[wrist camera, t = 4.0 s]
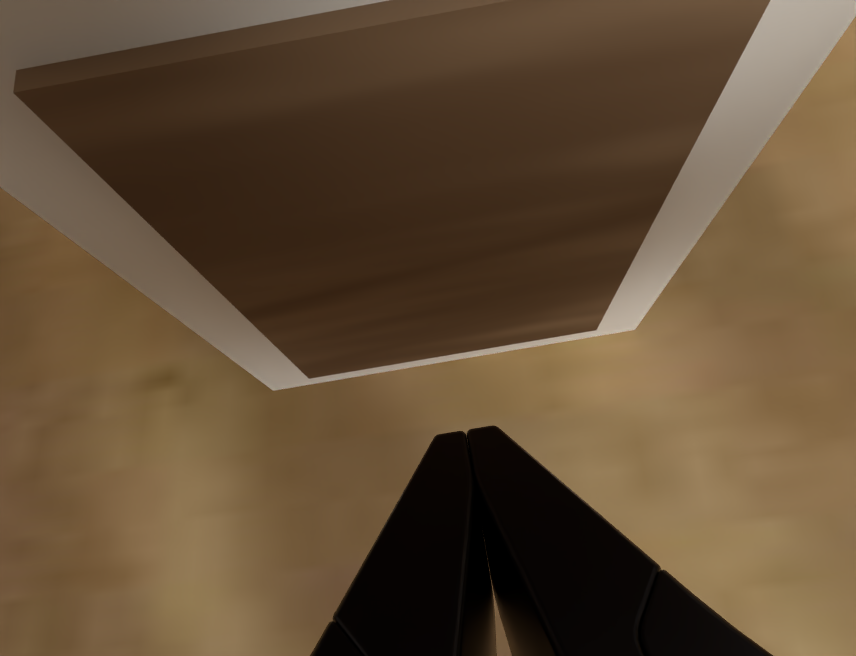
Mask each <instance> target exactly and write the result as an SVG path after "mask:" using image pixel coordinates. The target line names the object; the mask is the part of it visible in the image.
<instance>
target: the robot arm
mask: <svg viewBox="0 0 856 656" xmlns="http://www.w3.org/2000/svg"><path fill="white" fill-rule="evenodd" d="M467 441H468V442H467ZM468 447H469V448H468ZM484 540H485V541H484ZM485 546H486V547H485ZM486 552H487V553H486ZM487 558H488V559H487ZM488 563H489V565H488ZM489 569H490V571H489ZM490 575H491V577H490ZM491 580H492V584H491ZM492 585H493V590H494V595H495V599H496V603H497V606H498V610H499V614H500V617H501V620H502V624H503V627H504V630H505V634H506V637H507V640H508V643H509V647H510V650H511V653H512V656H773V655H771V654H770V653H769V652H767V651H766V650H765V649H763V648H762V647H761V646H759V645H758V644H756V643H755V642H754V641H752V640H751V639H750V638H748V637H747V636H746V635H744V634H743V633H741V632H740V631H739V630H737V629H736V628H735V627H733V626H732V625H731V624H730V623H728V622H727V621H726V620H725V619H723V618H722V617H721V616H720V615H719V614H717V613H716V612H715V611H714V610H712V609H711V608H710V607H709V606H707V605H706V604H705V603H704V602H702V601H701V600H700V599H699V598H698V597H696V596H695V595H694V594H693V593H691V592H690V591H689V590H688V589H687V588H685V587H684V586H683V585H682V584H681V583H680V582H678V581H677V580H676V579H675V578H674V577H673V576H672V575H670V574H669V573H668V572H667V571H665V570H661V568H660V566H659V565H658V564H657V563H656V562H655V561H654V560H652V559H651V558H650V557H649V556H648V555H647V554H645V553H644V552H643V551H642V550H641V549H640V548H638V547H637V546H636V545H635V544H634V543H633V542H631V541H630V540H629V539H628V538H627V537H626V536H624V535H623V534H622V533H621V532H620V531H619V530H617V529H616V528H615V527H614V526H613V525H612V524H610V523H609V522H608V521H607V520H606V519H605V518H603V517H602V516H601V515H600V514H599V513H598V512H596V511H595V510H594V509H593V508H592V507H591V506H589V505H588V504H587V503H586V502H585V501H584V500H582V499H581V498H580V497H579V496H578V495H577V494H575V493H574V492H573V491H572V490H571V489H570V488H568V487H567V486H566V485H565V484H564V483H563V482H561V481H560V480H559V479H558V478H557V477H556V476H554V475H553V474H552V473H551V472H550V471H549V470H547V469H546V468H545V467H544V466H543V465H542V464H540V463H539V462H538V461H537V460H536V459H535V458H533V457H532V456H531V455H530V454H529V453H528V452H526V451H525V450H524V449H523V448H522V447H521V446H519V445H518V444H517V443H516V442H515V441H514V440H512V439H511V438H510V437H509V436H508V435H506V434H505V433H504V432H503V431H502V430H501V429H499V428H498V427H497V426H487V427H481V428H475V429H470V430H469V431H468V432H467V437H466V434H465V433H464V432H463V431H457V432H451V433H444V434H439V435H437V436H435V437H434V439H433V441H432V442H431V444H430V446H429V448H428V449H427V451H426V453H425V455H424V456H423V458H422V460H421V462H420V464H419V465H418V467H417V469H416V471H415V472H414V474H413V476H412V478H411V479H410V481H409V483H408V485H407V487H406V488H405V490H404V492H403V494H402V495H401V497H400V499H399V501H398V502H397V504H396V506H395V508H394V509H393V511H392V513H391V515H390V517H389V518H388V520H387V522H386V524H385V525H384V527H383V529H382V531H381V532H380V534H379V536H378V538H377V540H376V541H375V543H374V545H373V547H372V548H371V550H370V552H369V554H368V555H367V557H366V559H365V561H364V562H363V564H362V566H361V568H360V570H359V571H358V573H357V575H356V577H355V578H354V580H353V582H352V584H351V585H350V587H349V589H348V591H347V593H346V594H345V596H344V598H343V600H342V601H341V603H340V605H339V607H338V608H337V610H336V612H335V614H334V615H333V621H332V622H330V623H329V624H328V625H327V627H326V629H325V631H324V632H323V634H322V636H321V638H320V640H319V641H318V643H317V645H316V647H315V648H314V650H313V652H312V654H311V655H310V656H497V653H496V631H495V612H494V599H493V591H492Z"/></svg>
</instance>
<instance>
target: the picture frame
mask: <svg viewBox="0 0 856 656" xmlns="http://www.w3.org/2000/svg"><path fill="white" fill-rule="evenodd" d="M855 16H856V0H0V187H1V188H2V189H3V190H5V191H6V192H7V193H9V194H10V195H11V196H13V197H14V198H15V199H17V200H18V201H19V202H21V203H22V204H23V205H25V206H26V207H27V208H29V209H30V210H31V211H33V212H34V213H35V214H37V215H38V216H39V217H41V218H42V219H43V220H45V221H46V222H48V223H49V224H50V225H52V226H53V227H54V228H56V229H57V230H58V231H60V232H61V233H62V234H64V235H65V236H66V237H68V238H69V239H70V240H72V241H73V242H74V243H76V244H77V245H78V246H80V247H81V248H82V249H84V250H85V251H86V252H88V253H89V254H90V255H92V256H93V257H94V258H96V259H97V260H98V261H100V262H101V263H103V264H104V265H105V266H107V267H108V268H109V269H111V270H112V271H113V272H115V273H116V274H117V275H119V276H120V277H121V278H123V279H124V280H125V281H127V282H128V283H129V284H131V285H132V286H133V287H135V288H136V289H137V290H139V291H140V292H141V293H143V294H144V295H145V296H147V297H148V298H149V299H151V300H152V301H154V302H155V303H156V304H158V305H159V306H160V307H162V308H163V309H164V310H166V311H167V312H168V313H170V314H171V315H172V316H174V317H175V318H176V319H178V320H179V321H180V322H182V323H183V324H184V325H186V326H187V327H188V328H190V329H191V330H192V331H194V332H195V333H196V334H198V335H199V336H200V337H202V338H203V339H205V340H206V341H207V342H209V343H210V344H211V345H213V346H214V347H215V348H217V349H218V350H219V351H221V352H222V353H223V354H225V355H226V356H227V357H229V358H230V359H231V360H233V361H234V362H235V363H237V364H238V365H239V366H241V367H242V368H243V369H245V370H246V371H247V372H249V373H250V374H251V375H253V376H254V377H255V378H257V379H258V380H260V381H261V382H262V383H264V384H265V385H266V386H268V387H269V388H270V389H272V390H273V391H275V390H280V389H286V388H292V387H298V386H304V385H310V384H316V383H322V382H328V381H334V380H340V379H346V378H352V377H358V376H363V375H369V374H375V373H381V372H387V371H393V370H399V369H405V368H411V367H417V366H423V365H429V364H435V363H441V362H446V361H452V360H458V359H464V358H470V357H476V356H482V355H488V354H494V353H500V352H506V351H512V350H518V349H524V348H529V347H535V346H541V345H547V344H553V343H559V342H565V341H571V340H577V339H583V338H589V337H595V336H601V335H606V334H612V333H618V332H624V331H630V330H635V329H636V327H637V326H638V325H639V323H640V322H641V320H642V319H643V318H644V316H645V315H646V313H647V312H648V310H649V309H650V308H651V306H652V305H653V303H654V302H655V300H656V299H657V298H658V296H659V295H660V293H661V292H662V291H663V289H664V288H665V286H666V285H667V283H668V282H669V281H670V279H671V278H672V276H673V275H674V273H675V272H676V271H677V269H678V268H679V266H680V265H681V264H682V262H683V261H684V259H685V258H686V256H687V255H688V254H689V252H690V251H691V249H692V248H693V247H694V245H695V244H696V242H697V241H698V239H699V238H700V237H701V235H702V234H703V232H704V231H705V229H706V228H707V227H708V225H709V224H710V222H711V221H712V220H713V218H714V217H715V215H716V214H717V212H718V211H719V210H720V208H721V207H722V205H723V204H724V202H725V201H726V200H727V198H728V197H729V195H730V194H731V193H732V191H733V190H734V188H735V187H736V185H737V184H738V183H739V181H740V180H741V178H742V177H743V175H744V174H745V173H746V171H747V170H748V168H749V167H750V166H751V164H752V163H753V161H754V160H755V158H756V157H757V156H758V154H759V153H760V151H761V150H762V148H763V147H764V146H765V144H766V143H767V141H768V140H769V139H770V137H771V136H772V134H773V133H774V131H775V130H776V129H777V127H778V126H779V124H780V123H781V121H782V120H783V119H784V117H785V116H786V114H787V113H788V112H789V110H790V109H791V107H792V106H793V104H794V103H795V102H796V100H797V99H798V97H799V96H800V94H801V93H802V92H803V90H804V89H805V87H806V86H807V85H808V83H809V82H810V80H811V79H812V77H813V76H814V75H815V73H816V72H817V70H818V69H819V67H820V66H821V65H822V63H823V62H824V60H825V59H826V58H827V56H828V55H829V53H830V52H831V50H832V49H833V48H834V46H835V45H836V43H837V42H838V41H839V39H840V38H841V36H842V35H843V33H844V32H845V31H846V29H847V28H848V26H849V25H850V23H851V22H852V21H853V19H854V18H855Z"/></svg>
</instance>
